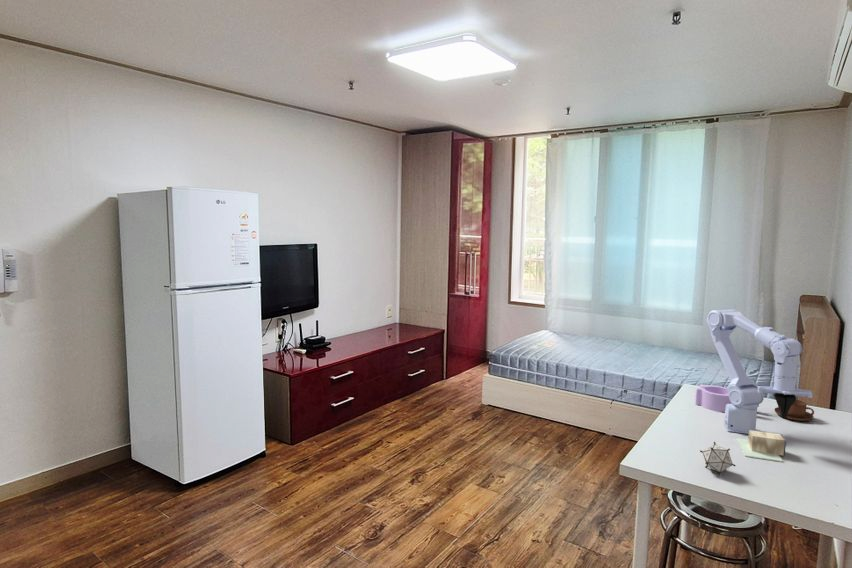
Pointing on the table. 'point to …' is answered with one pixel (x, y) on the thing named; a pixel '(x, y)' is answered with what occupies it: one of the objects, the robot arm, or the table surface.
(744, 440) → the mat
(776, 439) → the maple block
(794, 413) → the cup and saucer
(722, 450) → the game die
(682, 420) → the table surface
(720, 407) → the clip
